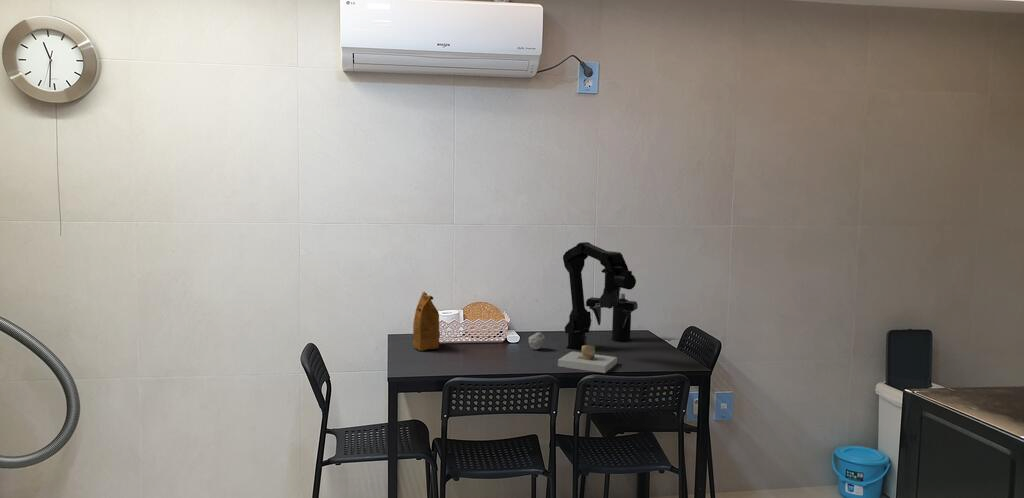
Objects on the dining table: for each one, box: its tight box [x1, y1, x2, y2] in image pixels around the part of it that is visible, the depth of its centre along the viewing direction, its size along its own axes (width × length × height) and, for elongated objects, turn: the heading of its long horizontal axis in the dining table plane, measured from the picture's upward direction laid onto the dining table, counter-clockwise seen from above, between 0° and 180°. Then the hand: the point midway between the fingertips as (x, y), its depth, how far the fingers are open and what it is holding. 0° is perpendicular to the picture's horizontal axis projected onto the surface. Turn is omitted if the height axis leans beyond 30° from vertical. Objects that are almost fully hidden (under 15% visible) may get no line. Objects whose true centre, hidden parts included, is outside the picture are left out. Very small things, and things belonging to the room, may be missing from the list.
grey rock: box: [527, 332, 546, 351], centre depth 287 cm, size 6×7×7 cm
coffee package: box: [412, 291, 441, 352], centre depth 286 cm, size 10×12×22 cm
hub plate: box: [557, 350, 618, 374], centre depth 265 cm, size 18×14×2 cm
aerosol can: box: [611, 293, 632, 343], centre depth 305 cm, size 8×8×20 cm
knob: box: [579, 344, 597, 361], centre depth 265 cm, size 6×5×6 cm
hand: (610, 326), depth 271 cm, fingers open, 9 cm apart
